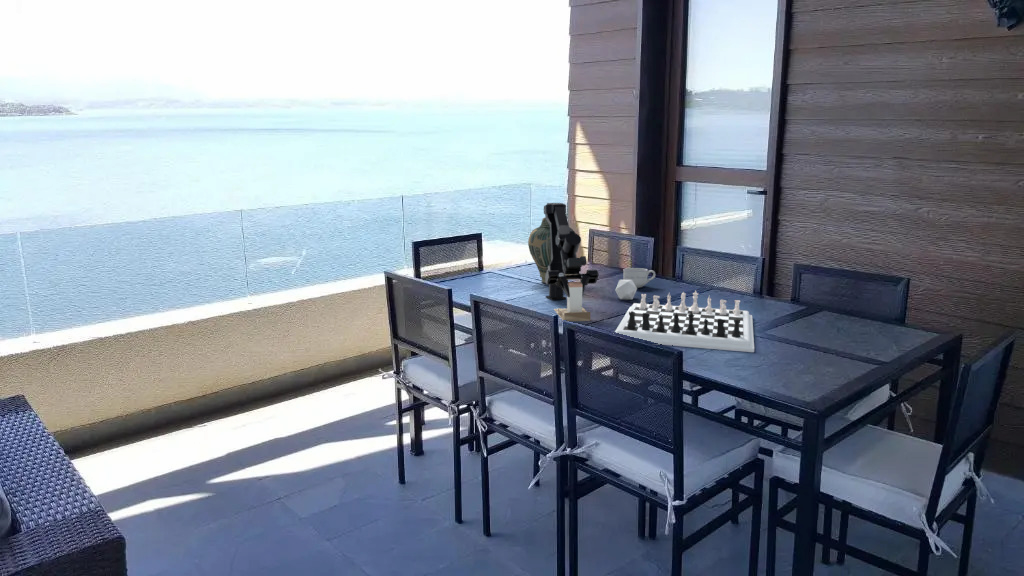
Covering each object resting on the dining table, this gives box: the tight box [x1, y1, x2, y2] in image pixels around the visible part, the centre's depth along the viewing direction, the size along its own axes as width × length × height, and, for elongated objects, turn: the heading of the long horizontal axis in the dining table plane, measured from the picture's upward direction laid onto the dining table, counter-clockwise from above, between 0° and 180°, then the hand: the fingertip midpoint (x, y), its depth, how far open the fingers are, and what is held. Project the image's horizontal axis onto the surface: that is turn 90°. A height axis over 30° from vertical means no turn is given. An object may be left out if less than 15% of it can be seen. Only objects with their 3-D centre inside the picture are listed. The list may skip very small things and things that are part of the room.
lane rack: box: [553, 307, 592, 322], centre depth 280 cm, size 19×10×4 cm, turn 8°
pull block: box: [566, 281, 583, 312], centre depth 275 cm, size 4×4×11 cm
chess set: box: [614, 290, 755, 353], centre depth 263 cm, size 45×45×11 cm
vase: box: [527, 217, 578, 284], centre depth 337 cm, size 22×22×30 cm
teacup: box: [622, 267, 656, 289], centre depth 331 cm, size 14×11×8 cm
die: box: [614, 279, 638, 300], centre depth 308 cm, size 8×9×10 cm
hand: (575, 296), depth 273 cm, fingers closed on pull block, 4 cm apart
